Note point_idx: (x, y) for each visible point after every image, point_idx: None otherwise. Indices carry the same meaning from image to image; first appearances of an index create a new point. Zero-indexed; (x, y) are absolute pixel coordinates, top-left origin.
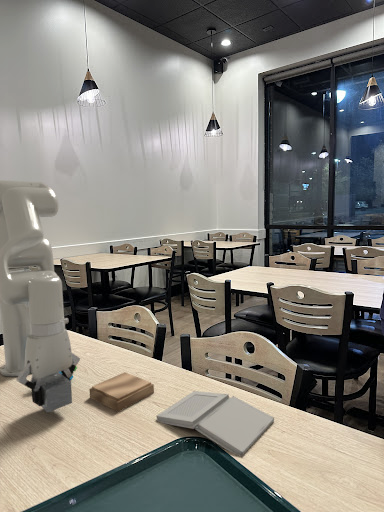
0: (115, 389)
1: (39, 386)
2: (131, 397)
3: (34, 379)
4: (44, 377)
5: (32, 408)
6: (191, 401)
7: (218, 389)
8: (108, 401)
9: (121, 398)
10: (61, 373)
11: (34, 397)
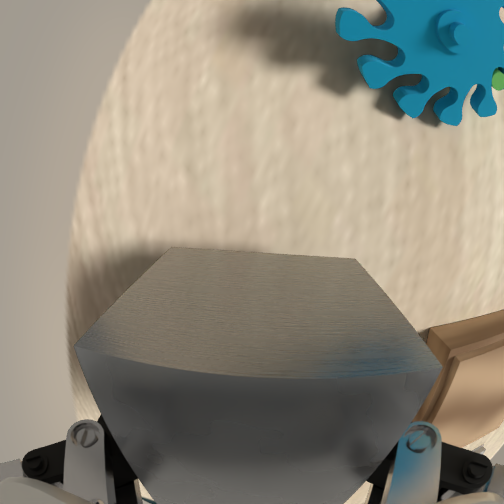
0: (454, 426)
1: (136, 490)
2: None
3: (93, 487)
4: (214, 453)
5: (196, 201)
6: None
7: (498, 443)
8: None
9: None
10: (470, 59)
11: None
